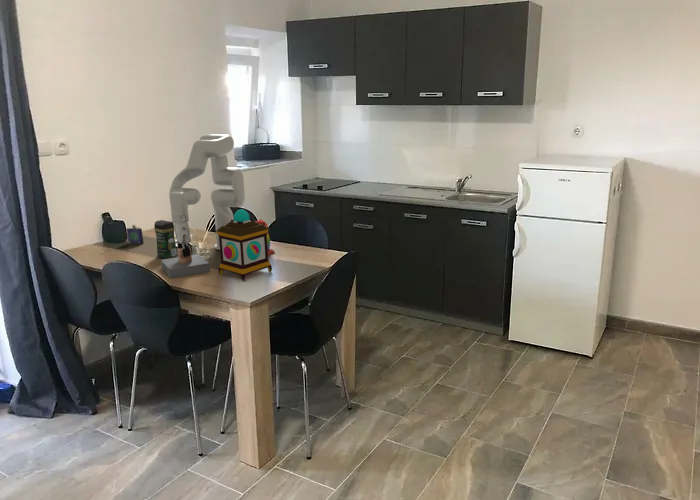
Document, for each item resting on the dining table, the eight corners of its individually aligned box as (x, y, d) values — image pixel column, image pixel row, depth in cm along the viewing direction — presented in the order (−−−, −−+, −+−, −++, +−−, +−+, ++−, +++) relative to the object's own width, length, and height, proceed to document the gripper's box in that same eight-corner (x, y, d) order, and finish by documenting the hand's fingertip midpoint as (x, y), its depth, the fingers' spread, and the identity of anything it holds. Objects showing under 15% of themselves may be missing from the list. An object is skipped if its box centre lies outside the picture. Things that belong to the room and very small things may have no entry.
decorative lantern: (247, 264, 280) (243, 203, 272) (276, 271, 268) (272, 207, 259) (214, 275, 265) (208, 210, 257) (243, 283, 253) (238, 215, 245)
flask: (127, 244, 321) (124, 225, 318) (130, 242, 324) (128, 224, 321) (142, 244, 319) (139, 225, 316) (145, 243, 321) (142, 224, 318)
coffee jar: (154, 256, 295) (150, 221, 290) (167, 253, 302) (163, 218, 297) (167, 259, 290) (163, 223, 285) (179, 255, 296) (176, 220, 291)
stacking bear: (266, 258, 289) (264, 223, 284) (248, 256, 292) (245, 222, 288) (276, 252, 299) (274, 218, 294) (258, 250, 302) (256, 217, 297)
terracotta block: (189, 259, 276) (187, 247, 274) (191, 261, 272) (190, 249, 270) (178, 260, 273) (177, 248, 272) (181, 263, 269) (179, 251, 268)
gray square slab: (199, 261, 285) (198, 254, 284) (210, 271, 270) (209, 263, 269) (161, 268, 277) (160, 259, 276) (170, 278, 262) (169, 269, 261)
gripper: (193, 220, 261) (197, 257, 266) (183, 213, 276) (187, 248, 281) (176, 223, 258) (180, 259, 263) (167, 215, 272) (171, 250, 277)
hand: (184, 253), depth 272 cm, fingers open, 9 cm apart
